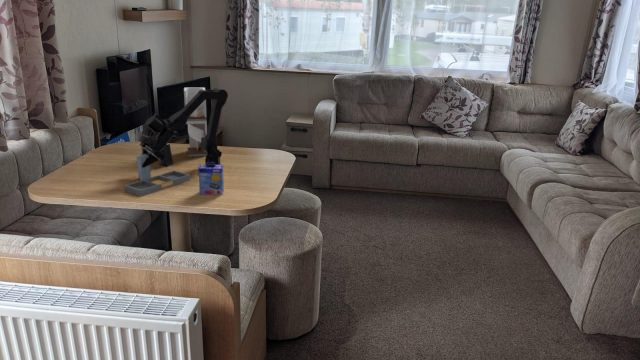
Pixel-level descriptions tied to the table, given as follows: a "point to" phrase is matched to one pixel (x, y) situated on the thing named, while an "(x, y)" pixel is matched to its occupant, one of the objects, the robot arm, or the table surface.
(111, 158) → the table surface
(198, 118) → the display case
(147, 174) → the panel block
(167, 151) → the speaker
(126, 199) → the table surface
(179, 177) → the rack
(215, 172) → the ink cartridge box
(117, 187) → the table surface
